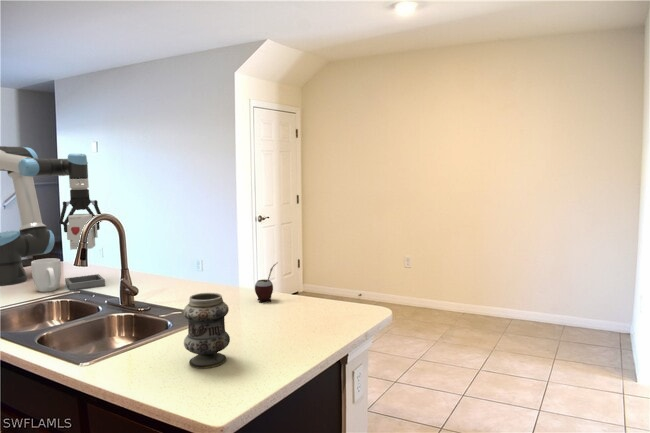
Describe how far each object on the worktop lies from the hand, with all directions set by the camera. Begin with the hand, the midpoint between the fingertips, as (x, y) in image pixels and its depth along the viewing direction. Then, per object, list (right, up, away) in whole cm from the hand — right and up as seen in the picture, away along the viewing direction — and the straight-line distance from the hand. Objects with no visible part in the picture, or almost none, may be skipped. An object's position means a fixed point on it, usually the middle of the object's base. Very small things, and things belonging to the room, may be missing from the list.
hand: (82, 238), depth 216 cm
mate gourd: (+85, -23, -26) cm, 92 cm away
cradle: (0, -21, +2) cm, 21 cm away
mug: (-12, -22, -7) cm, 26 cm away
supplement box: (0, -4, 0) cm, 4 cm away
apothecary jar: (+77, -29, -85) cm, 118 cm away
